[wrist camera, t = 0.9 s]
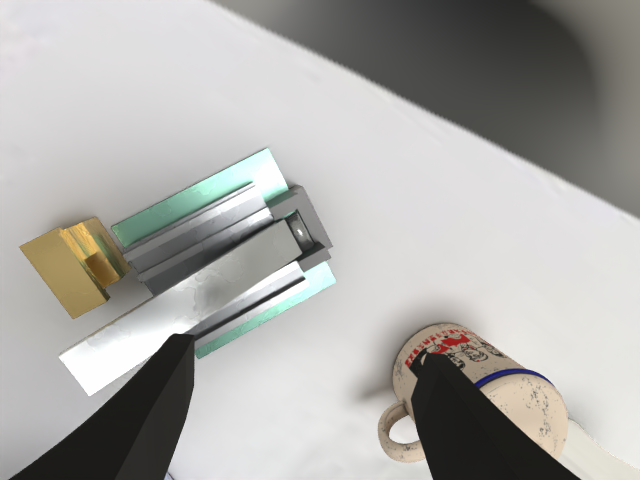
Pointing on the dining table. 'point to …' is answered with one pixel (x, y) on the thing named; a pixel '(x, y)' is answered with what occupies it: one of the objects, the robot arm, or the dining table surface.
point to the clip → (77, 264)
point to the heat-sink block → (218, 246)
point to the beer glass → (592, 458)
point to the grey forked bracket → (302, 205)
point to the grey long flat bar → (184, 304)
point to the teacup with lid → (489, 376)
